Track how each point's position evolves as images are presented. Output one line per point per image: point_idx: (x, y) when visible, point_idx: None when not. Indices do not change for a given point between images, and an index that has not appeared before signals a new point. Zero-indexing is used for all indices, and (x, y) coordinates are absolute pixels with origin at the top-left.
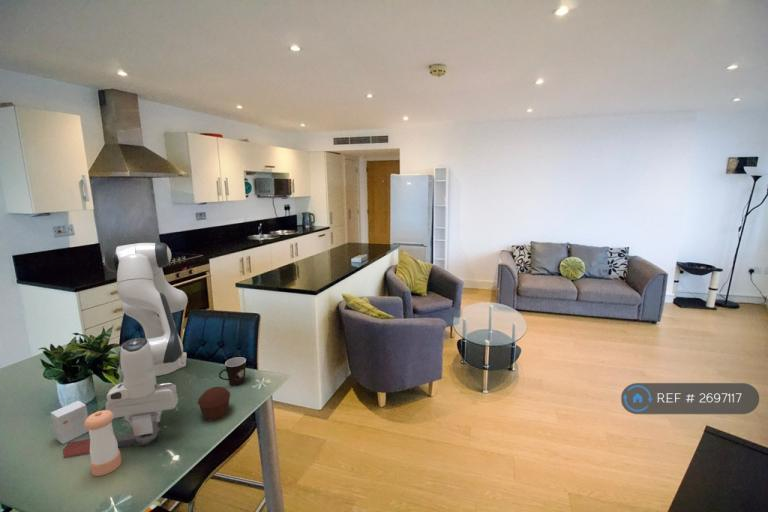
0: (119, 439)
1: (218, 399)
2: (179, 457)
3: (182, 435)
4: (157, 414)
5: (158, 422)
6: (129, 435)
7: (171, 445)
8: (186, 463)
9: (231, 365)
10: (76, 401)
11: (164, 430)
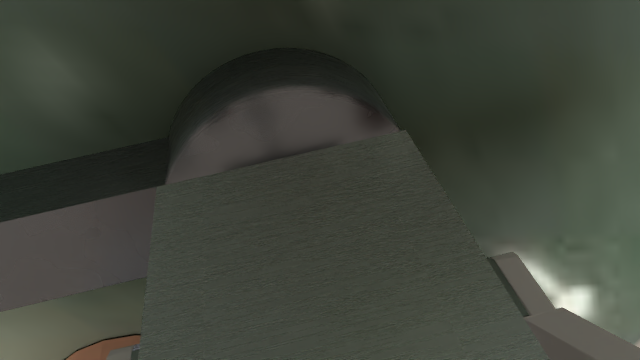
0: (17, 283)
1: None
2: (592, 304)
3: (600, 109)
4: (462, 221)
5: (407, 133)
6: (86, 229)
7: (524, 219)
8: (632, 333)
9: None
10: None
11: (398, 17)
